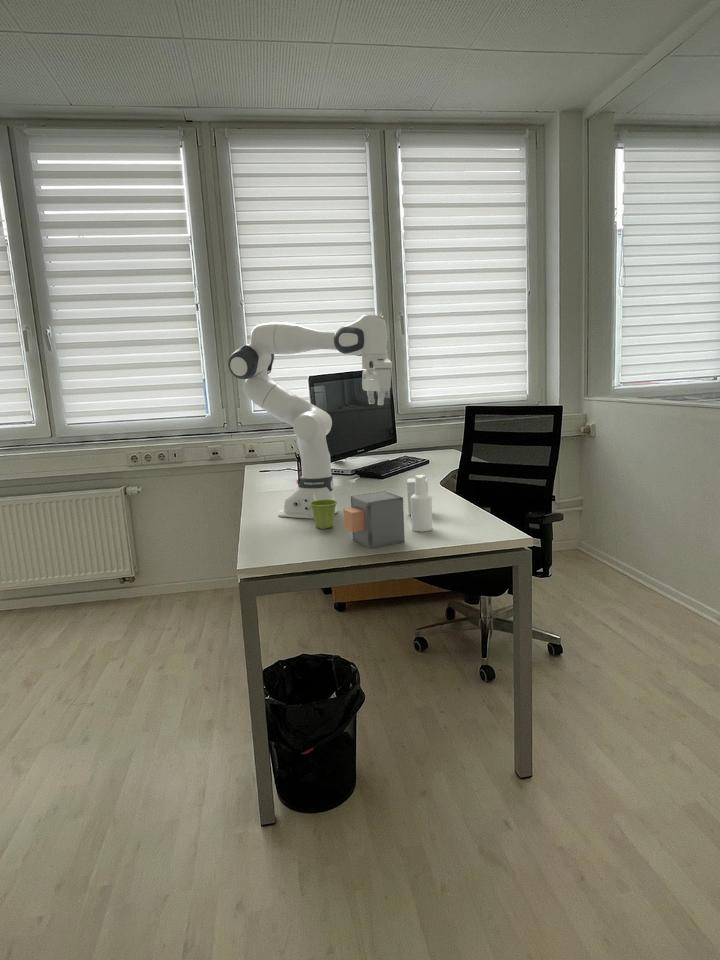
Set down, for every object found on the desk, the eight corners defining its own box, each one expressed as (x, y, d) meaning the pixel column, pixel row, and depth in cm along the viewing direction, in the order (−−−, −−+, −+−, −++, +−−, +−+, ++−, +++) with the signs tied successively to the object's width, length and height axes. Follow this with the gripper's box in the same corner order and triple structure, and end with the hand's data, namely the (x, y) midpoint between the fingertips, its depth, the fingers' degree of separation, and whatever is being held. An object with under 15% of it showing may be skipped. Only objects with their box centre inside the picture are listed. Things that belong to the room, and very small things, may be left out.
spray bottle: (433, 526, 199) (431, 473, 196) (431, 532, 192) (429, 477, 189) (413, 526, 200) (411, 474, 197) (410, 531, 194) (408, 477, 191)
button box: (369, 548, 178) (367, 502, 175) (353, 539, 189) (350, 496, 186) (404, 542, 183) (402, 497, 180) (386, 533, 193) (384, 491, 191)
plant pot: (340, 523, 210) (339, 499, 208) (335, 530, 201) (333, 505, 199) (315, 523, 211) (313, 499, 210) (308, 530, 202) (306, 505, 201)
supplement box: (428, 510, 222) (427, 477, 219) (428, 515, 214) (427, 481, 212) (408, 511, 222) (407, 478, 220) (408, 516, 215) (406, 481, 213)
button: (352, 532, 178) (351, 512, 177) (344, 528, 183) (343, 509, 182) (367, 529, 180) (366, 510, 179) (359, 525, 185) (358, 506, 184)
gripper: (357, 364, 211) (358, 403, 213) (375, 363, 191) (376, 406, 194) (374, 364, 213) (375, 403, 215) (394, 362, 193) (394, 405, 196)
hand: (376, 404), depth 204 cm, fingers open, 8 cm apart
